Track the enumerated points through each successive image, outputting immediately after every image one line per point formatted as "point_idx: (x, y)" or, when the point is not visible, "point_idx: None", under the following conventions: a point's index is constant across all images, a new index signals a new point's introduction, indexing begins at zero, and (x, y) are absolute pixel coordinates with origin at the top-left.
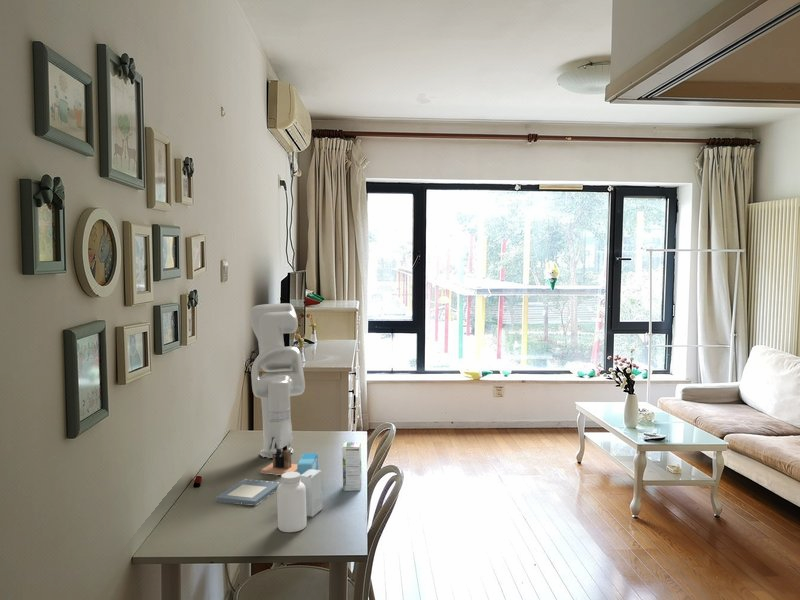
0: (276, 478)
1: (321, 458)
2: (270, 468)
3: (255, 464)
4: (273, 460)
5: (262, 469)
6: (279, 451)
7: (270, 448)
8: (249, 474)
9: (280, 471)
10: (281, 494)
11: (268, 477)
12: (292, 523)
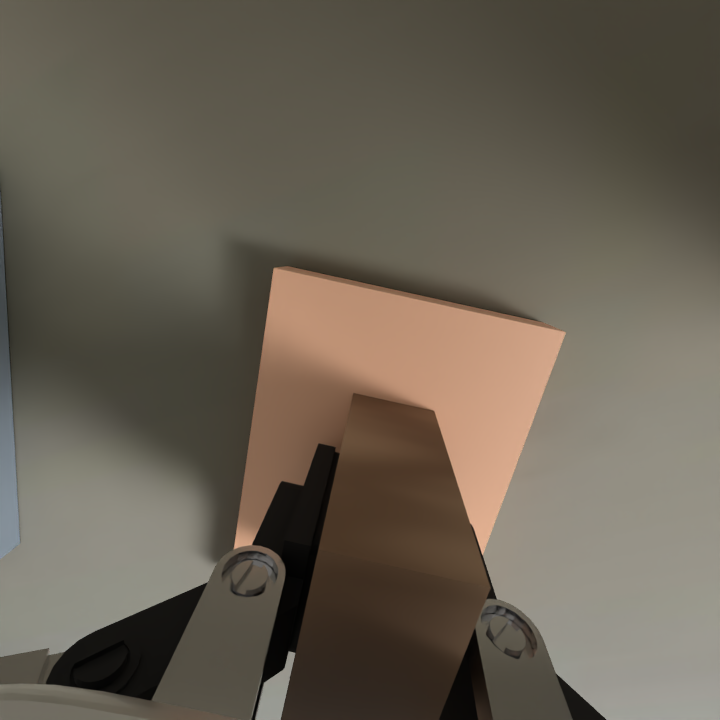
0: (187, 455)
1: (717, 707)
2: (327, 369)
3: (657, 32)
4: (342, 446)
5: (285, 278)
6: (303, 690)
7: (22, 700)
8: (262, 109)
9: (241, 502)
10: None
11: (200, 373)
12: None
